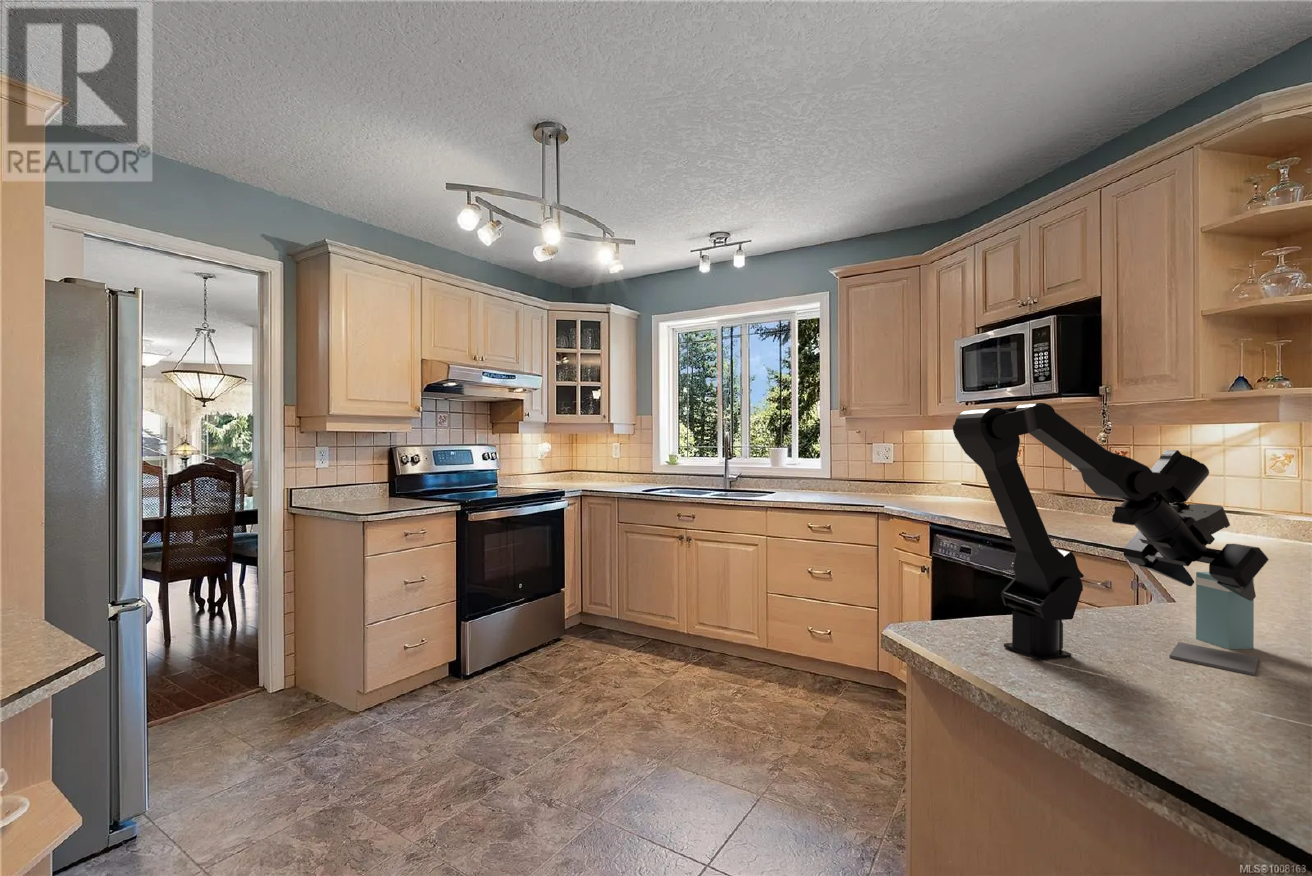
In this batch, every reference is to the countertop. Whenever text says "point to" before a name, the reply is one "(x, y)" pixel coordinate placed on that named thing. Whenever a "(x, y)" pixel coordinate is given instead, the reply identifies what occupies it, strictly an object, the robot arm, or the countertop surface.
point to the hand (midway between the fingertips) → (1220, 591)
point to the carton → (1223, 615)
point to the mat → (1215, 658)
